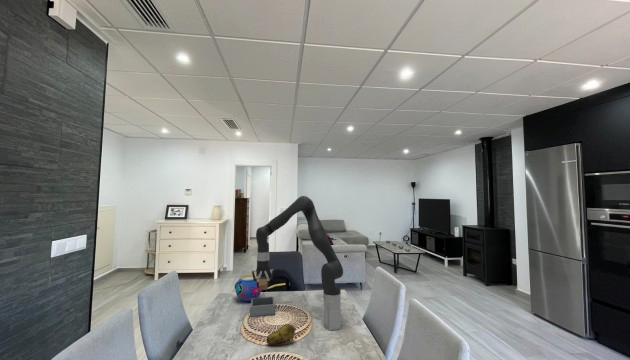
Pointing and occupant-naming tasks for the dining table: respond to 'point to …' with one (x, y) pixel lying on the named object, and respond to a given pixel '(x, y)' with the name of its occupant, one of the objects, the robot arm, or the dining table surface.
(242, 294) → the ceramic pot
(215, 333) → the dining table surface
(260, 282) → the walnut block
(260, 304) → the charcoal bin
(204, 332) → the dining table surface
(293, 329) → the green pear
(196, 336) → the dining table surface
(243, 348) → the dining table surface
